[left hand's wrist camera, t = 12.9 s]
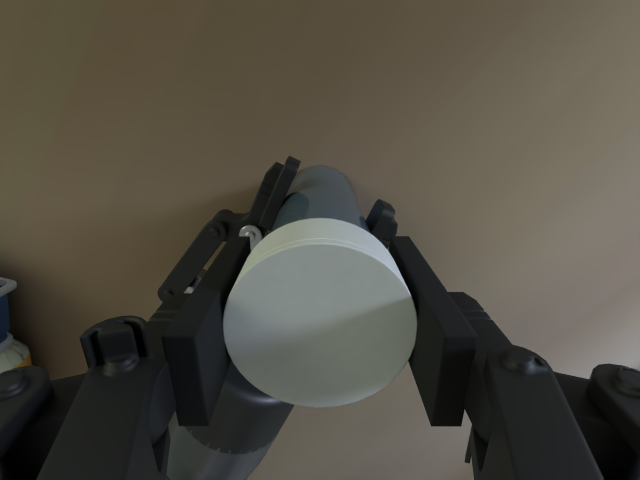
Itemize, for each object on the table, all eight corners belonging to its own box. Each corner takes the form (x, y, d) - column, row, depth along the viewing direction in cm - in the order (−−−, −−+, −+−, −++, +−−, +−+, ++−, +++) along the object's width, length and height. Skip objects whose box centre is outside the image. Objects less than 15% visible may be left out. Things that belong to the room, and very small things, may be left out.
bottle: (272, 191, 25) (206, 307, 10) (328, 151, 24) (341, 216, 9) (312, 243, 26) (303, 408, 12) (366, 207, 25) (429, 339, 11)
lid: (213, 318, 12) (191, 361, 10) (288, 185, 11) (280, 204, 9) (345, 381, 14) (349, 432, 11) (433, 268, 12) (458, 304, 10)
